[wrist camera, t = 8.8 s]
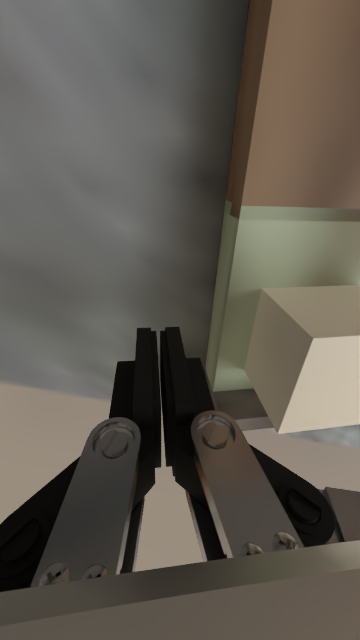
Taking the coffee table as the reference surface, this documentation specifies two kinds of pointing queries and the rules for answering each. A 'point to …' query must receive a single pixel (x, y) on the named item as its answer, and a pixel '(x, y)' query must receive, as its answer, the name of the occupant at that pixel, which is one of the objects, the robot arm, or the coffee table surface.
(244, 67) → the box
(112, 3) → the coffee table surface
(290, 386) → the block
